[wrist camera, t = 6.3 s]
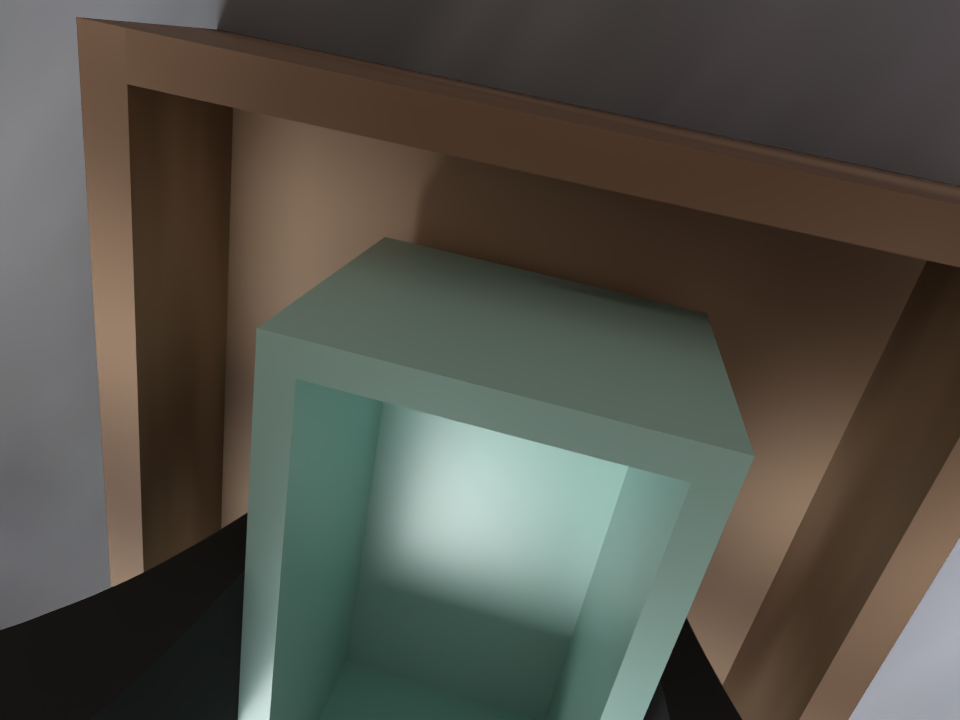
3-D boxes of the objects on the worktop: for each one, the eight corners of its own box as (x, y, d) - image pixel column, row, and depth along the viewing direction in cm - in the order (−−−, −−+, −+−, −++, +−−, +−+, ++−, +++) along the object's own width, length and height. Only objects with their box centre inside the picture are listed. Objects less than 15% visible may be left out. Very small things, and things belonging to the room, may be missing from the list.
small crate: (563, 722, 15) (541, 959, 11) (332, 652, 16) (231, 853, 12) (707, 313, 11) (755, 456, 7) (384, 237, 12) (256, 328, 8)
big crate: (691, 786, 18) (709, 945, 14) (204, 645, 19) (121, 764, 15) (988, 192, 11) (1139, 243, 8) (214, 29, 12) (75, 17, 9)
